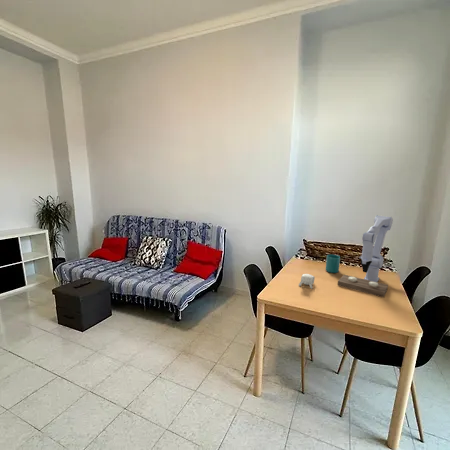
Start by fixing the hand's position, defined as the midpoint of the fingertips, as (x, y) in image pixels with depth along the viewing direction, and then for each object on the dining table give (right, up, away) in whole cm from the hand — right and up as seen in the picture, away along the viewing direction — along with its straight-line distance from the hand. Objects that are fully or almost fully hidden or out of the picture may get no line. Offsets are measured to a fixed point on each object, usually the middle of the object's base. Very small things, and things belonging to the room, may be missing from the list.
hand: (364, 271), depth 170 cm
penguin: (-37, -9, +1) cm, 38 cm away
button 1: (-7, -9, +3) cm, 11 cm away
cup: (-9, -4, +28) cm, 30 cm away
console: (-2, -10, 0) cm, 10 cm away
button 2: (+3, -10, -4) cm, 11 cm away
